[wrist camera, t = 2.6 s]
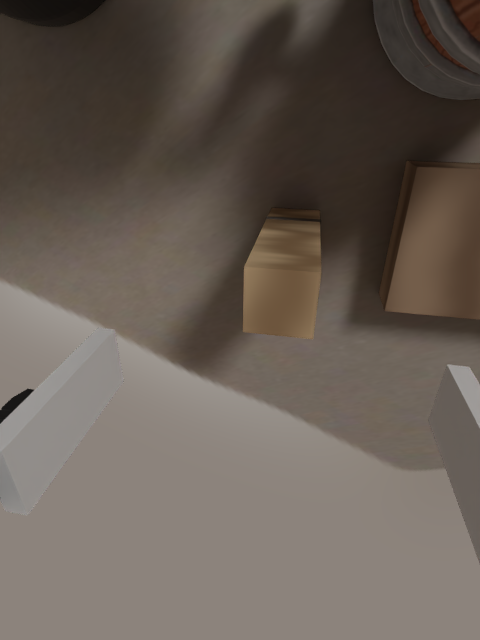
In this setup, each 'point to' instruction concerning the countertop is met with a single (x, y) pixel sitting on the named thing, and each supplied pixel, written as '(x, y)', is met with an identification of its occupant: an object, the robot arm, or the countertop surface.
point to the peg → (284, 275)
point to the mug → (433, 44)
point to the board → (435, 242)
